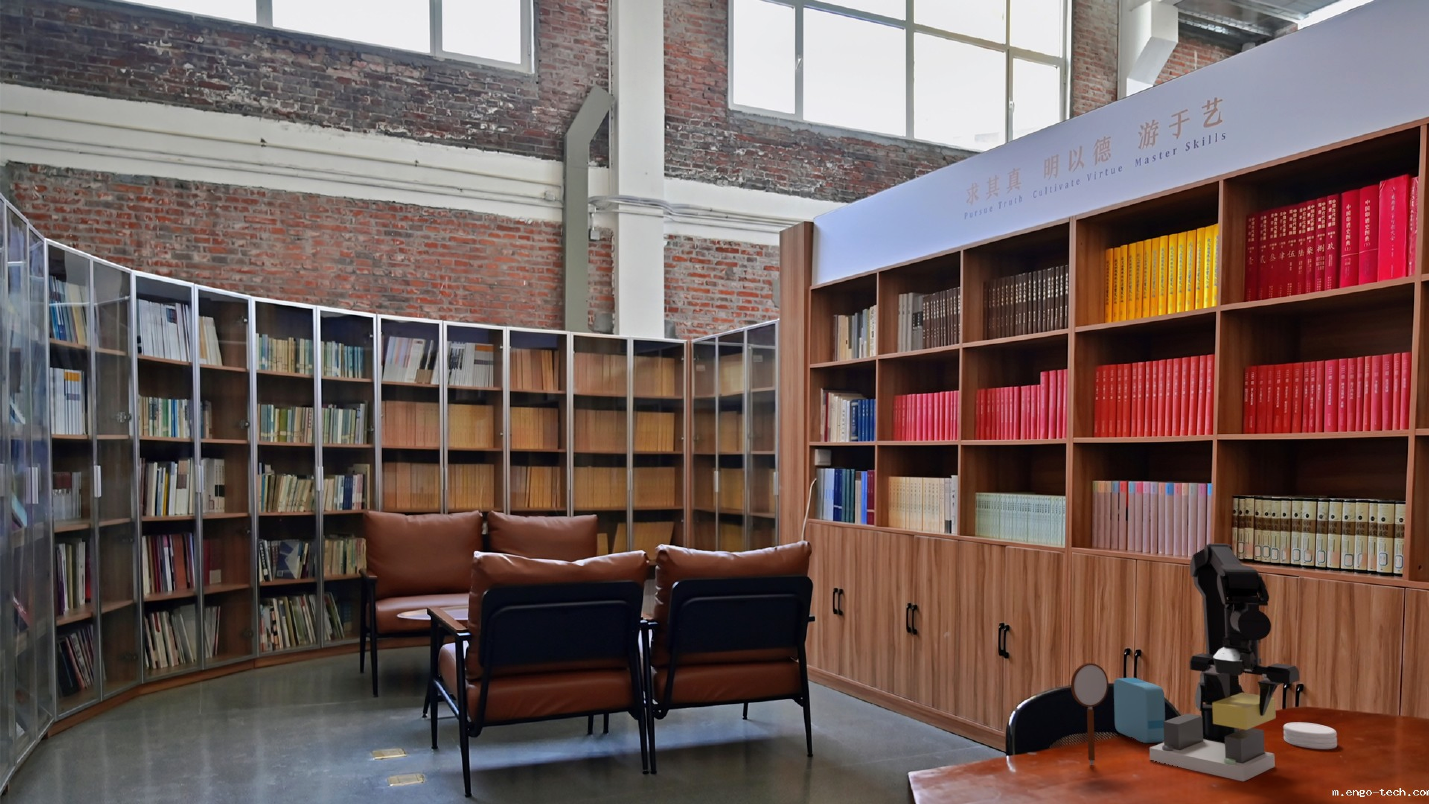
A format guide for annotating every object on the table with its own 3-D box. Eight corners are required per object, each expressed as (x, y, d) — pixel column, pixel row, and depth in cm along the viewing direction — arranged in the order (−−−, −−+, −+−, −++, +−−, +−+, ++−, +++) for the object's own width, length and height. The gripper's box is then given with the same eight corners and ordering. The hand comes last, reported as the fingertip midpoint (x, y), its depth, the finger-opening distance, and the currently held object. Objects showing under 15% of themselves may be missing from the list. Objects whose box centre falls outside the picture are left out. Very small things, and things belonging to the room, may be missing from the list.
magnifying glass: (1106, 761, 199) (1104, 661, 201) (1112, 764, 198) (1110, 662, 199) (1070, 765, 197) (1068, 663, 198) (1076, 767, 195) (1073, 664, 196)
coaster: (1286, 735, 221) (1285, 719, 221) (1339, 742, 215) (1338, 726, 215) (1281, 745, 213) (1280, 728, 213) (1335, 753, 207) (1334, 735, 207)
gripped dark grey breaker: (1225, 764, 192) (1224, 736, 193) (1248, 754, 199) (1247, 727, 200) (1241, 767, 190) (1240, 739, 190) (1264, 757, 197) (1263, 730, 197)
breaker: (1164, 748, 201) (1163, 721, 202) (1188, 738, 208) (1187, 713, 209) (1179, 751, 199) (1178, 724, 199) (1203, 741, 206) (1202, 715, 207)
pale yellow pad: (1213, 723, 193) (1212, 702, 193) (1242, 712, 202) (1242, 692, 202) (1246, 729, 188) (1245, 708, 189) (1275, 718, 197) (1274, 697, 198)
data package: (1166, 744, 213) (1164, 687, 214) (1147, 745, 212) (1145, 688, 213) (1132, 730, 225) (1130, 676, 225) (1114, 731, 224) (1113, 677, 225)
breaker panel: (1149, 760, 200) (1149, 744, 200) (1183, 747, 210) (1182, 732, 210) (1243, 781, 187) (1242, 764, 187) (1274, 766, 196) (1274, 750, 197)
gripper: (1176, 630, 198) (1178, 710, 197) (1276, 642, 184) (1279, 728, 183) (1200, 625, 206) (1202, 701, 204) (1298, 636, 191) (1302, 718, 190)
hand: (1244, 712), depth 195 cm, fingers closed on pale yellow pad, 6 cm apart
